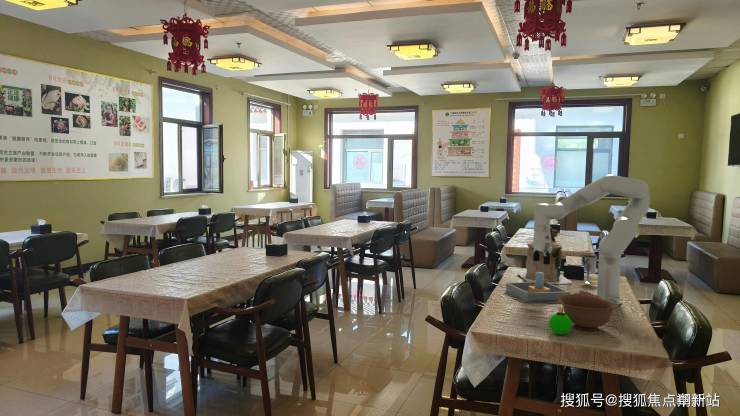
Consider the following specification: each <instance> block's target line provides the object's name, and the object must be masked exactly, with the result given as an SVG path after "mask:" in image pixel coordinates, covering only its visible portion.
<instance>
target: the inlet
mask: <svg viewBox="0 0 740 416" xmlns="http://www.w3.org/2000/svg"><path fill="white" fill-rule="evenodd" d="M528 291H530V292H532V293H537V292H550V289H549V288H547V287H544V289H536V288H535V286H529V288H528Z"/></svg>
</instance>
